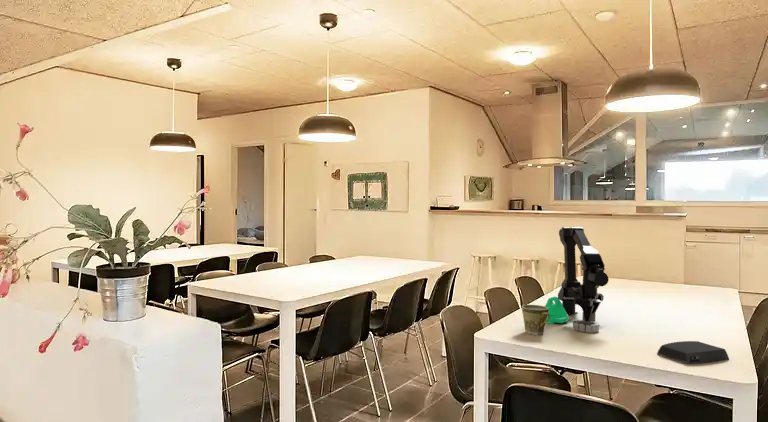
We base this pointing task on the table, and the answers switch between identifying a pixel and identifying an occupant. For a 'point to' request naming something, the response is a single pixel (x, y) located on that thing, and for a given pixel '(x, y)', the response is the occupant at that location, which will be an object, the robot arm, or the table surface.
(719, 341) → the table surface
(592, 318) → the cap
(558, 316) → the camera mount
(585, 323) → the grey piece
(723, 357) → the external hard drive
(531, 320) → the ceramic cup
